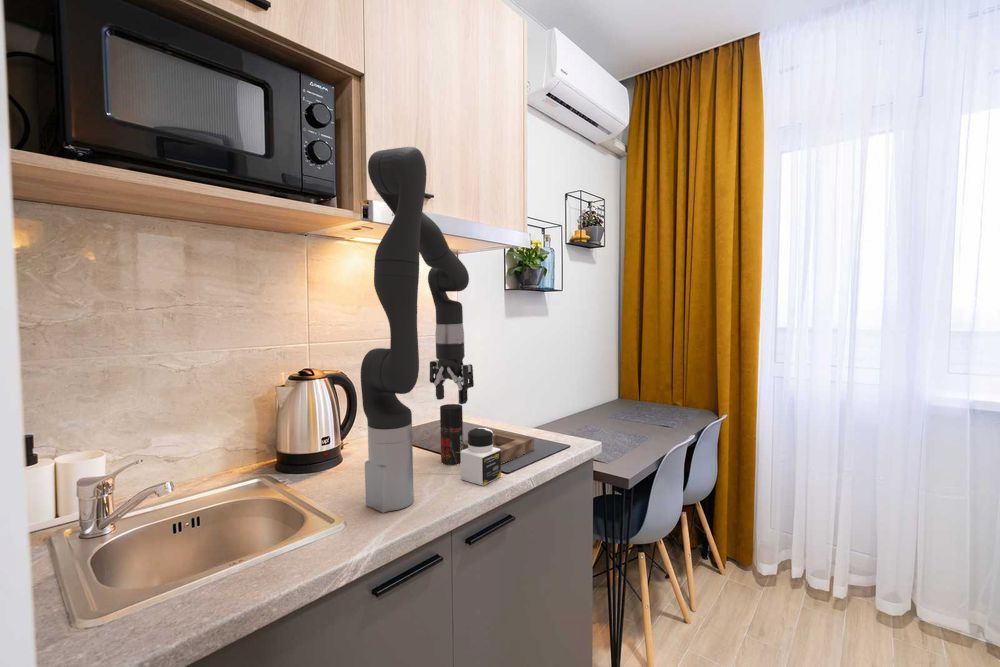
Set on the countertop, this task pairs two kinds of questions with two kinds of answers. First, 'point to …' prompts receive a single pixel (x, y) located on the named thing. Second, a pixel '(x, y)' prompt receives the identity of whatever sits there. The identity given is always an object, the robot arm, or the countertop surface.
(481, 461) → the medicine bottle
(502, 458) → the frame
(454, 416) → the deodorant
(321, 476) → the countertop surface
